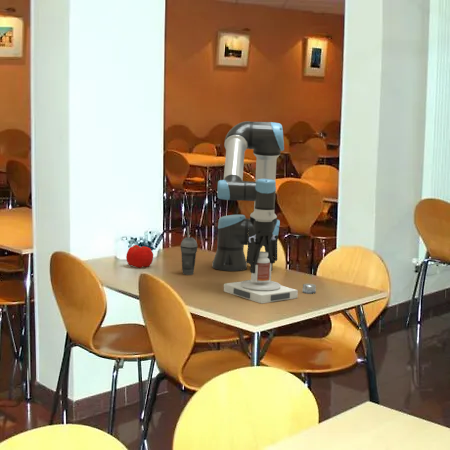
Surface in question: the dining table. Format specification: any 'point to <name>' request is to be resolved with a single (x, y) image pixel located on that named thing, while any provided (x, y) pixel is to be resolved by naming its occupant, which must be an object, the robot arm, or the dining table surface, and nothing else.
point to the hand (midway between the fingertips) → (260, 280)
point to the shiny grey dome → (309, 288)
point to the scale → (260, 291)
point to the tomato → (139, 256)
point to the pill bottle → (263, 267)
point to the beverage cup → (188, 254)
